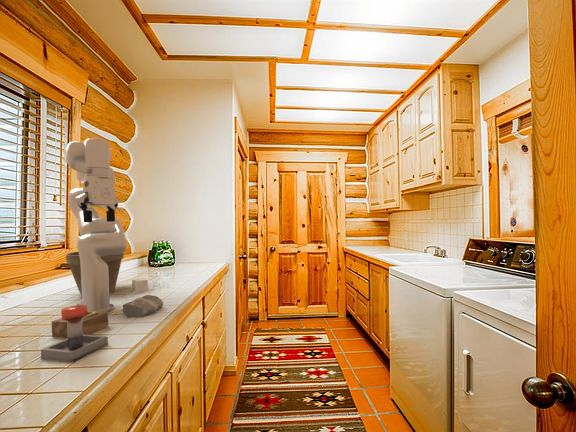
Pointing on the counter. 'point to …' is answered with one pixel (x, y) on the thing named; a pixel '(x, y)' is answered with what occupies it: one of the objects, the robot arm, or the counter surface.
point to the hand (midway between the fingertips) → (99, 221)
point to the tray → (63, 354)
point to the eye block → (90, 324)
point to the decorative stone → (142, 306)
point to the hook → (74, 325)
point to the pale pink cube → (140, 285)
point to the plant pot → (110, 260)
